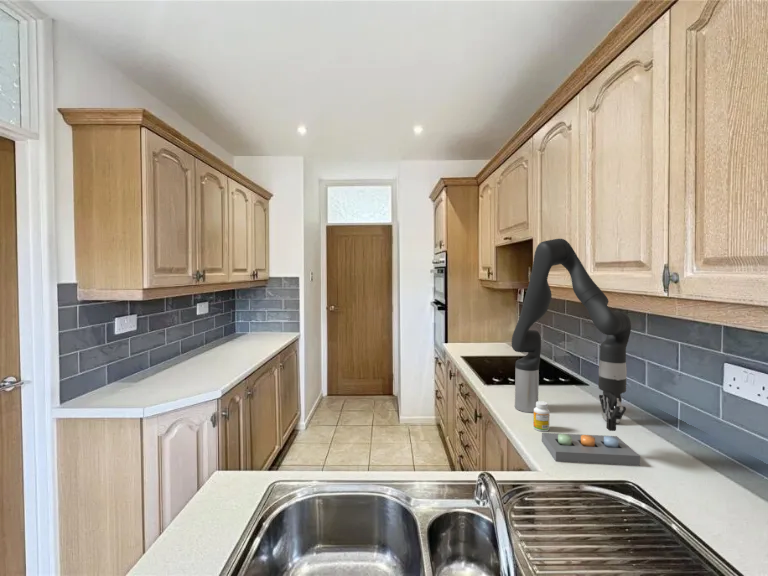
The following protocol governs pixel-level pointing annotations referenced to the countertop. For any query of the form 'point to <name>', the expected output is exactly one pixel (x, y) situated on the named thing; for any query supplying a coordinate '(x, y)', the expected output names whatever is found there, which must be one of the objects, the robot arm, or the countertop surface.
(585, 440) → the orange button
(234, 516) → the countertop surface
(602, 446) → the button box
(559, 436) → the green button
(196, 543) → the countertop surface
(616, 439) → the blue button
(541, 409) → the supplement bottle
